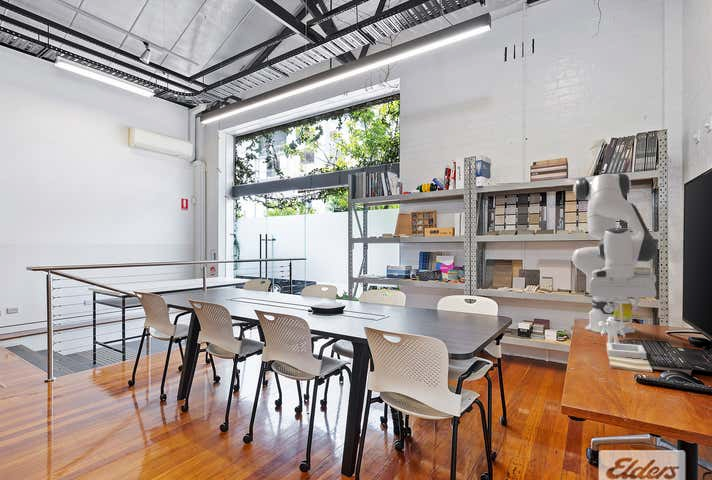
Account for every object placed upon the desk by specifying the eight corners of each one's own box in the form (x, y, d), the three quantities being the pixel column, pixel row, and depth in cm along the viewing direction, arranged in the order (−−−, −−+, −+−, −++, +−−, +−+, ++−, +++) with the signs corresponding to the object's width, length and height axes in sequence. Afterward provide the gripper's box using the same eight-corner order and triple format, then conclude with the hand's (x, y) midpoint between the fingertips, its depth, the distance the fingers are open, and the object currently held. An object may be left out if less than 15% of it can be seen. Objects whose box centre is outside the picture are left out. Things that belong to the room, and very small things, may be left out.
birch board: (608, 358, 133) (608, 356, 133) (647, 362, 127) (647, 359, 127) (610, 368, 123) (610, 365, 123) (652, 372, 118) (652, 369, 118)
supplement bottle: (634, 322, 136) (632, 294, 136) (629, 324, 133) (628, 296, 133) (616, 320, 141) (615, 293, 141) (611, 322, 137) (610, 295, 137)
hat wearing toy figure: (625, 344, 149) (623, 314, 149) (628, 346, 145) (625, 316, 146) (599, 342, 153) (597, 313, 153) (601, 345, 149) (598, 315, 149)
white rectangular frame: (606, 349, 144) (606, 342, 144) (642, 351, 138) (641, 345, 138) (608, 357, 135) (608, 350, 135) (646, 360, 129) (646, 353, 129)
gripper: (654, 270, 134) (656, 308, 134) (587, 271, 145) (590, 306, 145) (657, 272, 129) (659, 312, 129) (587, 273, 140) (590, 309, 139)
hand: (622, 309), depth 137 cm, fingers closed on supplement bottle, 6 cm apart
